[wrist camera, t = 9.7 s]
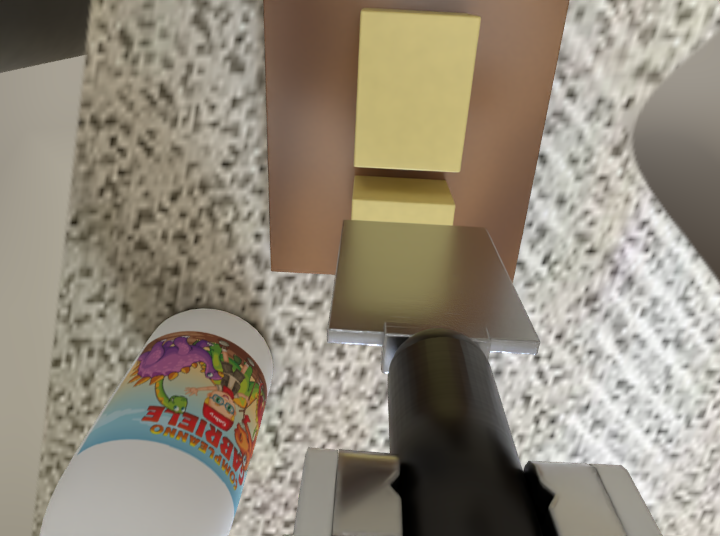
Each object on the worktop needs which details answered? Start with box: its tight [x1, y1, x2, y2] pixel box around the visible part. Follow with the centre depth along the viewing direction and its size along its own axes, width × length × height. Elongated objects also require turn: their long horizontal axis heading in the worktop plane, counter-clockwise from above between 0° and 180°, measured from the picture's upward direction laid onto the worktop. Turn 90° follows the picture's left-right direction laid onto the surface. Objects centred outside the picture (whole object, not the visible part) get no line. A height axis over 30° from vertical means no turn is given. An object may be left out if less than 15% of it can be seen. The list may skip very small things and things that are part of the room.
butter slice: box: [351, 175, 455, 226], centre depth 25 cm, size 4×2×4 cm, turn 87°
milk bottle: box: [40, 308, 273, 536], centre depth 25 cm, size 8×8×20 cm
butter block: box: [354, 8, 481, 172], centre depth 23 cm, size 4×6×4 cm
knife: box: [327, 219, 543, 536], centre depth 12 cm, size 5×2×16 cm, turn 87°
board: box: [263, 0, 569, 283], centre depth 26 cm, size 13×18×2 cm
